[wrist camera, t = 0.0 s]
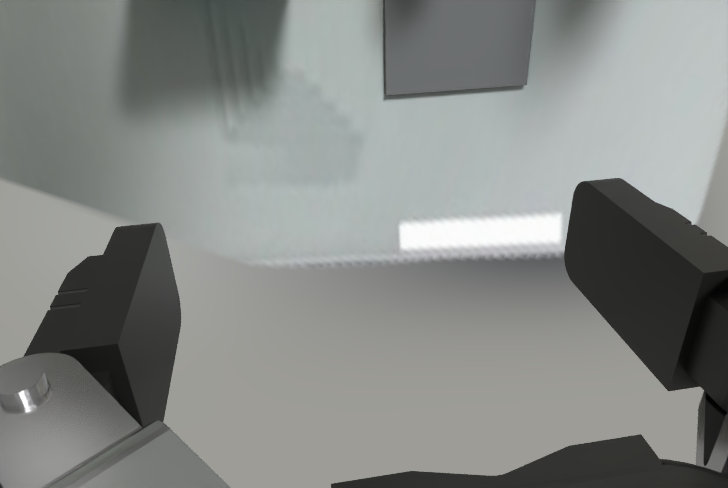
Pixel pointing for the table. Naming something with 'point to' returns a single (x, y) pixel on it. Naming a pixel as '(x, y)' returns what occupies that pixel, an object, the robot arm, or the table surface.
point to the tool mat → (456, 44)
